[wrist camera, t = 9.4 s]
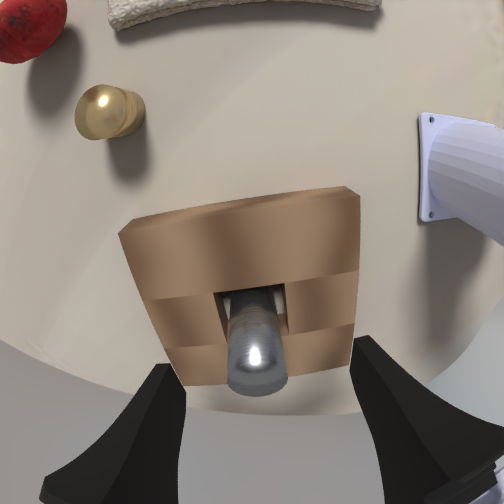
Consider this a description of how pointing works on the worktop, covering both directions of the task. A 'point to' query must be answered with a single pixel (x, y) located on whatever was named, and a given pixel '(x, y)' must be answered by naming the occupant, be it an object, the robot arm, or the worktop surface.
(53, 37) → the onion
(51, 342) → the worktop surface
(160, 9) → the washcloth
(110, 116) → the short brass pin
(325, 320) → the walnut hole plate
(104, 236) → the worktop surface
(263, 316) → the long steel pin
